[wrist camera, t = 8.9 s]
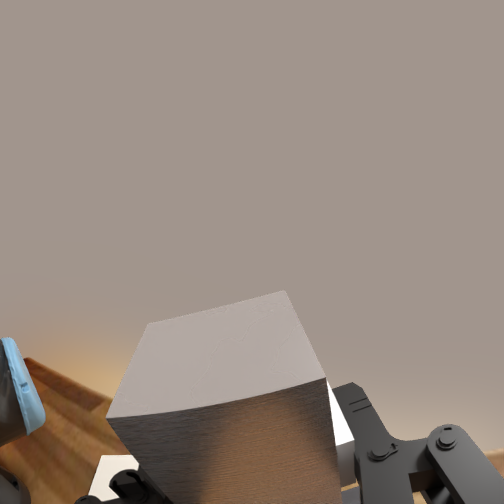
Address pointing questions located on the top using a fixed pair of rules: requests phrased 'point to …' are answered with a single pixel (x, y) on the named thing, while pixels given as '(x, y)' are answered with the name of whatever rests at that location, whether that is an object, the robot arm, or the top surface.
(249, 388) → the aluminium plug
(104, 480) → the cream pad
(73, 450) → the top surface
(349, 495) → the socket block
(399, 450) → the robot arm
